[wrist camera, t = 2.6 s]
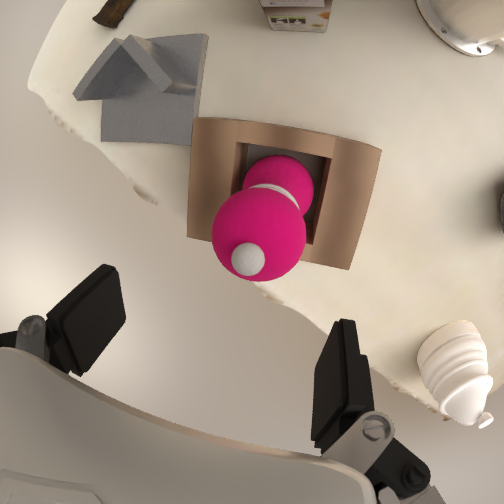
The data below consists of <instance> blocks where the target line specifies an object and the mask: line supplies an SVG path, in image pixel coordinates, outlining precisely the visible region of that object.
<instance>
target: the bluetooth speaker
mask: <svg viewBox="0 0 504 504" xmlns="http://www.w3.org/2000/svg"><path fill="white" fill-rule="evenodd" d="M500 212H501V225H502V229H503V232H504V193H503V195H502V197H501V201H500Z"/></svg>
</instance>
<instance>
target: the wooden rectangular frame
mask: <svg viewBox="0 0 504 504" xmlns="http://www.w3.org/2000/svg"><path fill="white" fill-rule="evenodd" d="M248 143H250V144H257V145H264V146H270V147H276V148H282V149H288V150H293V151H298V152H304V153H309V154H314V155H318V156H323V157H326V162H325V167H324V172H323V177H322V182H321V187H320V192H319V196H318V201H317V206H316V210H315V215H314V219H313V224H310V223H305V226H306V243H305V247H304V250H303V253H302V255H301V257H300V259H299V260H301V261H306V262H311V263H316V264H321V265H325V266H330V267H335V268H340V269H345V270H349V268H350V265H351V262H352V259H353V256H354V253H355V250H356V247H357V243H358V240H359V237H360V233H361V230H362V227H363V223H364V220H365V216H366V213H367V209H368V205H369V202H370V198H371V194H372V190H373V186H374V182H375V178H376V174H377V170H378V165H379V161H380V156H381V152H382V150H381V149H379V148H376V147H374V146H372V145H369V144H366V143H362V142H358V141H355V140H351V139H347V138H342V137H338V136H334V135H329V134H325V133H320V132H315V131H310V130H305V129H300V128H294V127H288V126H282V125H276V124H269V123H262V122H255V121H246V120H237V119H227V118H216V117H203V118H194V122H193V133H192V144H191V158H190V173H189V191H188V214H187V237H190V238H194V239H199V240H204V241H209V242H212V234H211V233H212V224H213V221H214V218H215V216H216V214H217V212H218V210H219V208H220V207H221V205H222V204H223V203H224V202H225V201H226V200H227V199H228V198H229V197H230V196H232V195H234V194H235V193H237V192H239V191H242V188H243V182H244V175H245V167H246V159H247V151H248Z"/></svg>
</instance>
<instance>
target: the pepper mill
mask: <svg viewBox="0 0 504 504" xmlns="http://www.w3.org/2000/svg"><path fill="white" fill-rule="evenodd" d="M313 194H314V186H313V181H312V178H311V176H310V174H309V172H308V170H307V169H306V168H305V167H304V166H303V165H302V164H301V163H300V162H299V161H298V160H296V159H295V158H293V157H290V156H286V155H272V156H267V157H265V158H262V159H260V160H259V161H257V162H256V163H255V164H254V165H253V166H252V167H251V168H250V169H249V171H248V172H247V174H246V176H245V178H244V182H243V188H242V191H239V192H237V193H235V194H234V195H232V196H230V197H229V198H228V199H227V200H226V201H225V202H224V203H223V204H222V205H221V207H220V208H219V210H218V212H217V214H216V216H215V218H214V221H213V224H212V233H211V234H212V244H213V248H214V251H215V253H216V255H217V257H218V259H219V260H220V262H221V263H222V265H223V266H224V267H225V268H226V269H227V270H228V271H230V272H231V273H233V274H234V275H236V276H238V277H240V278H243V279H246V280H249V281H257V282H259V281H269V280H274V279H276V278H279V277H281V276H283V275H284V274H286V273H287V272H288V271H290V270H291V269H292V268H293V267H294V266H295V265H296V263H297V262H298V261H299V259H300V257H301V255H302V253H303V250H304V247H305V243H306V226H305V221H304V219H303V216H304V215H305V213H306V212H307V211H308V209H309V207H310V205H311V202H312V199H313Z"/></svg>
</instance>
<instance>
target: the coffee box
mask: <svg viewBox="0 0 504 504" xmlns="http://www.w3.org/2000/svg"><path fill="white" fill-rule="evenodd" d="M259 2H260V4H261V6H262V8H263V10H264V12H265V14H266V17H267V19H268V21H269V24H270V26H271V28H272V30H291V31H310V32H326V30H327V26H328V21H329V15H330V10H331V5H332V0H259Z"/></svg>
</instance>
